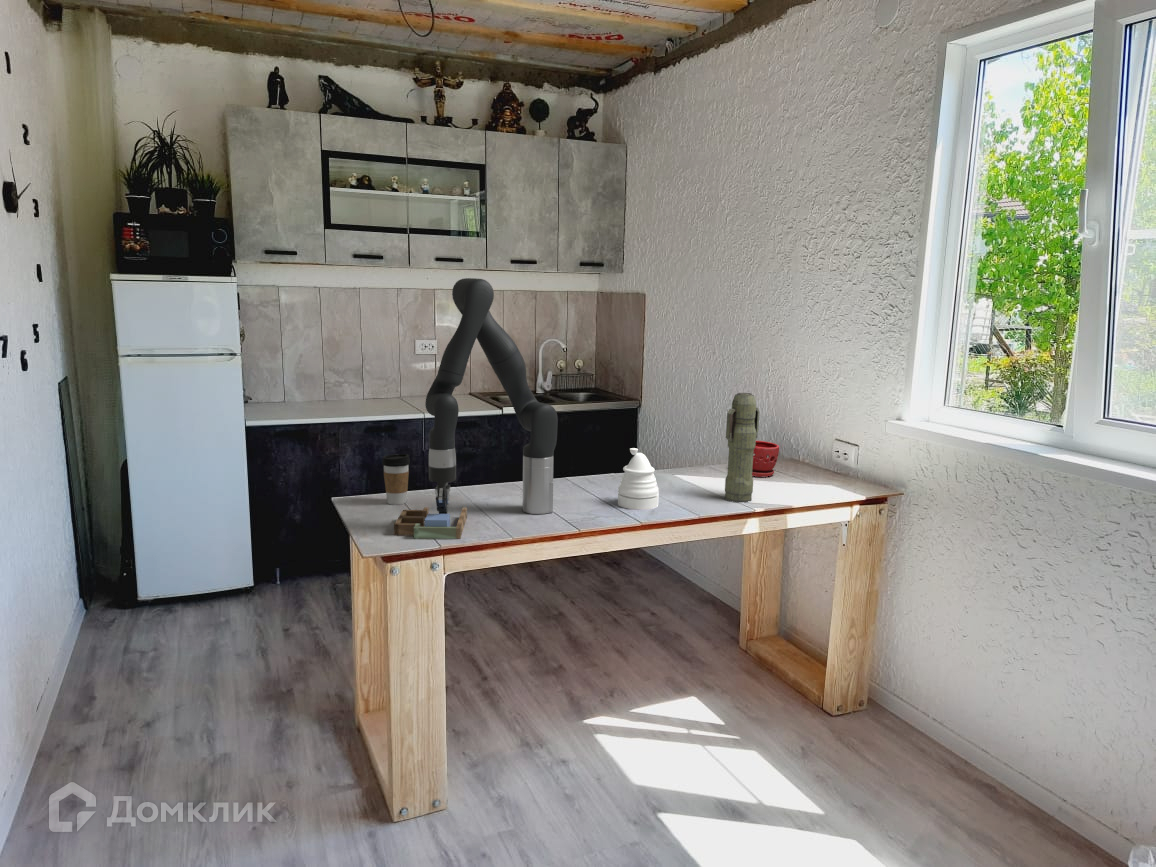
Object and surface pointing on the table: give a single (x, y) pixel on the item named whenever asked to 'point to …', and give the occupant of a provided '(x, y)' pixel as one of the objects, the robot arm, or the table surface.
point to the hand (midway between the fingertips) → (443, 523)
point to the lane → (414, 525)
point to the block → (437, 520)
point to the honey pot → (638, 484)
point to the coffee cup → (396, 477)
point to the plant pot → (764, 458)
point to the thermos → (741, 447)
